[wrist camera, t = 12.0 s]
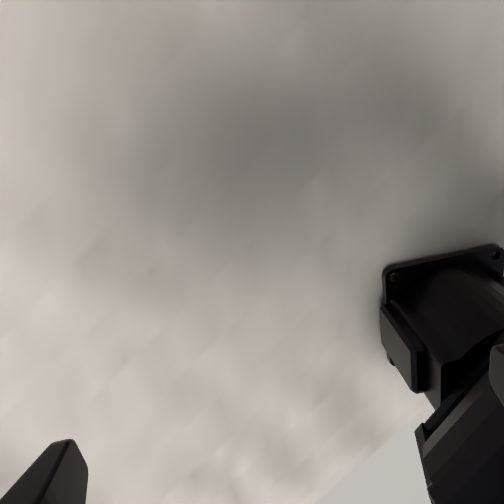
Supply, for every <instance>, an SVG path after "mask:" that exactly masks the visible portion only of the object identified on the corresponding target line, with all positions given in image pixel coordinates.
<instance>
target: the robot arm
mask: <svg viewBox="0 0 504 504" xmlns="http://www.w3.org/2000/svg"><path fill="white" fill-rule="evenodd" d="M495 251H496V252H495ZM493 252H495V254H494V255H493V256H491V255H492V253H493ZM503 270H504V250H503V248H501V247H500V246H498V245H496V244H490V245H486V246H481V247H476V248H471V249H467V250H462V251H457V252H453V253H448V254H443V255H439V256H434V257H429V258H425V259H420V260H415V261H411V262H406V263H401V264H397V265H392V266H389V267H387V268H386V269H385V270H384V271H383V274H382V280H383V297H384V304H382V305H381V307H380V309H379V310H380V325H381V340H382V345H383V346H384V348H385V350H386V351H387V358H388V360H389V362H390V363H391V364H392V365H393V366H396V367H397V369H398V370H399V372H400V374H401V375H402V377H403V378H404V380H405V382H406V383H407V385H408V387H409V388H410V390H411V391H413V392H414V393H416V394H418V393H422V392H424V394H425V395H426V397H427V398H428V400H429V402H430V403H431V405H432V406H433V408H434V409H435V412H434V413H433V414H432V415H431V416H430V417H429V419H428V420H427V421H426V422H425V423H421V424H420V425H419V427H418V428H417V429H416V430H415V436H416V441H417V445H418V449H419V453H420V458H421V462H422V466H423V471H424V475H425V479H426V484H427V490H428V494H429V498H430V500H431V503H432V504H504V276H503ZM393 273H396V275H395V276H394V277H393V278H390V276H391V274H393ZM87 483H88V468H87V464H86V462H85V460H84V458H83V456H82V454H81V452H80V450H79V448H78V446H77V444H76V443H75V441H74V440H72V439H66V440H61V441H57V442H54V443H52V444H50V445H49V446H48V447H47V448H46V450H45V451H44V452H43V453H42V454H41V455H40V456H39V457H38V458H37V460H36V461H35V462H34V463H33V464H32V465H31V466H30V467H29V468H28V469H27V471H26V472H25V473H24V474H23V475H22V476H21V477H20V478H19V479H18V480H17V482H16V483H15V484H14V485H13V486H12V487H11V488H10V489H9V490H8V492H7V493H6V494H5V495H4V496H3V497H2V498H1V499H0V504H85V503H86V493H87Z"/></svg>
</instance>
